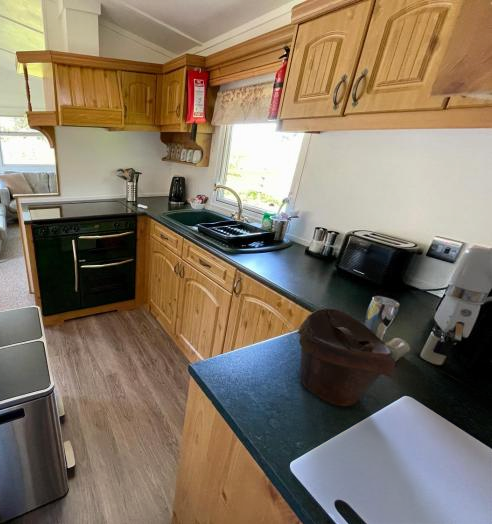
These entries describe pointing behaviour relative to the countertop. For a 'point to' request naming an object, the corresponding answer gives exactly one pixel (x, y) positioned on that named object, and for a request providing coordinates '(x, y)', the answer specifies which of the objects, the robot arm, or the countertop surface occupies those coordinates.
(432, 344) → the pepper shaker
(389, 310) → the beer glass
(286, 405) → the countertop surface
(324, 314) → the brown lidded pot
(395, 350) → the salt shaker
